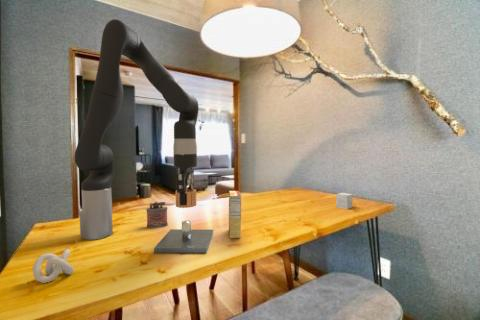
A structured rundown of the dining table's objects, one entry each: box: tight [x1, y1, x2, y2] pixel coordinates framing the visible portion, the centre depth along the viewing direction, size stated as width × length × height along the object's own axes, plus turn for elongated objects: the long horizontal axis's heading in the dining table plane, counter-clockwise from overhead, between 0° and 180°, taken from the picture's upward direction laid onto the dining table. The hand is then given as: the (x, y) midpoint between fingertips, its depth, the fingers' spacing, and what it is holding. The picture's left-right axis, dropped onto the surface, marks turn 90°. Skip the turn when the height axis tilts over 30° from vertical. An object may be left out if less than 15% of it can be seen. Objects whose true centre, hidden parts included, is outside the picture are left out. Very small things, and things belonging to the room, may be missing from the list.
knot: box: [32, 248, 75, 284], centre depth 57 cm, size 8×8×6 cm
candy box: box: [228, 190, 242, 239], centre depth 85 cm, size 9×4×15 cm, turn 6°
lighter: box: [146, 201, 169, 229], centre depth 94 cm, size 8×3×10 cm, turn 105°
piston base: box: [153, 220, 214, 254], centre depth 78 cm, size 16×16×7 cm
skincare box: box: [335, 192, 354, 210], centre depth 123 cm, size 6×6×7 cm
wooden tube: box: [175, 188, 197, 209], centre depth 77 cm, size 7×7×5 cm
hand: (186, 202), depth 77 cm, fingers closed on wooden tube, 6 cm apart
